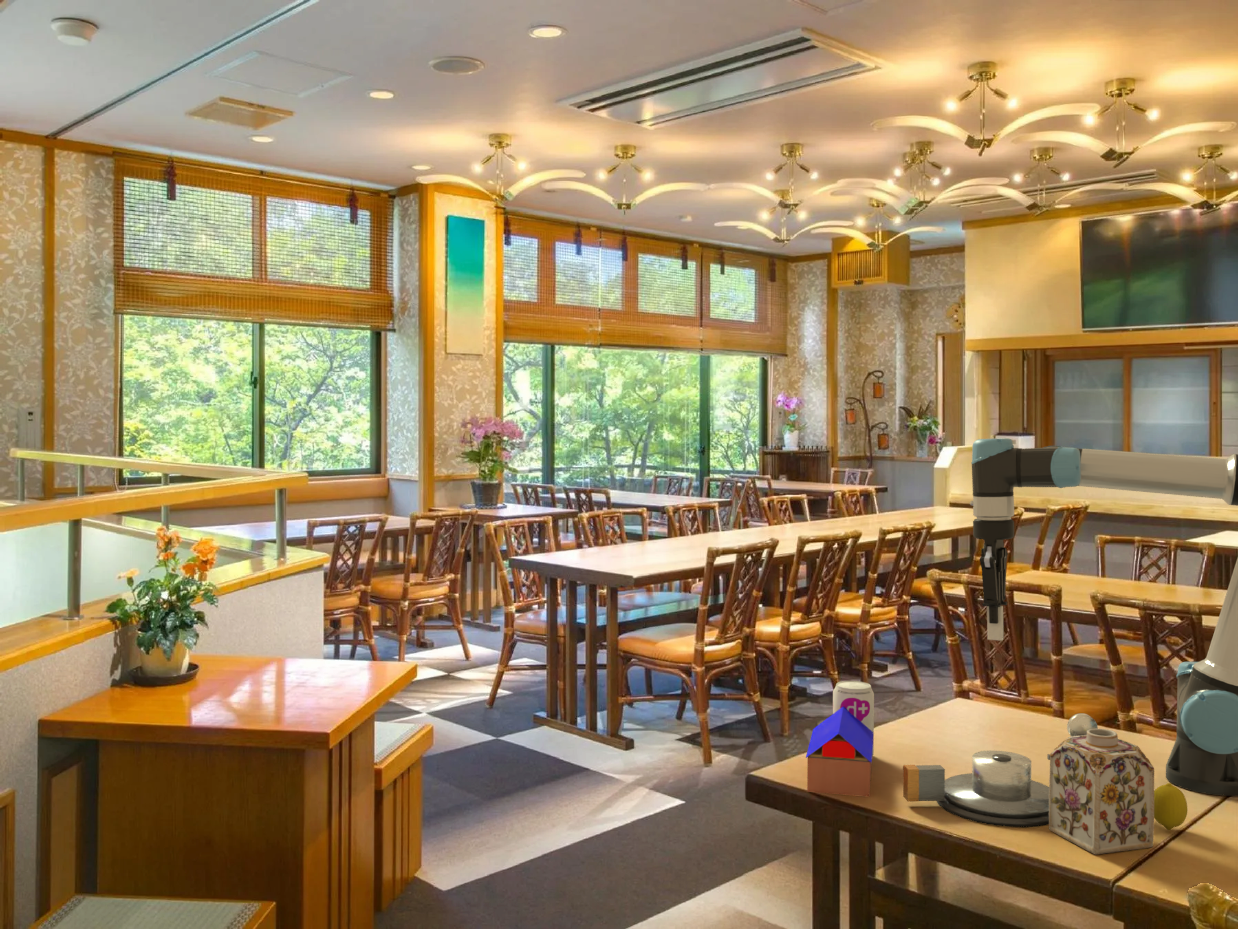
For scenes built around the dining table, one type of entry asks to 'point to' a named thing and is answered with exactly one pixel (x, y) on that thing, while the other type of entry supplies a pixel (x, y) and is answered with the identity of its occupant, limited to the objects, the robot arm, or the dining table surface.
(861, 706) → the supplement can
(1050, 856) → the dining table surface
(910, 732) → the dining table surface
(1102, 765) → the decorative jar
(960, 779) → the turntable
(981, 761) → the cover
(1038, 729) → the dining table surface
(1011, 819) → the turntable base
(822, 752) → the house
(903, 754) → the dining table surface
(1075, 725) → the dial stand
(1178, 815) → the lemon
